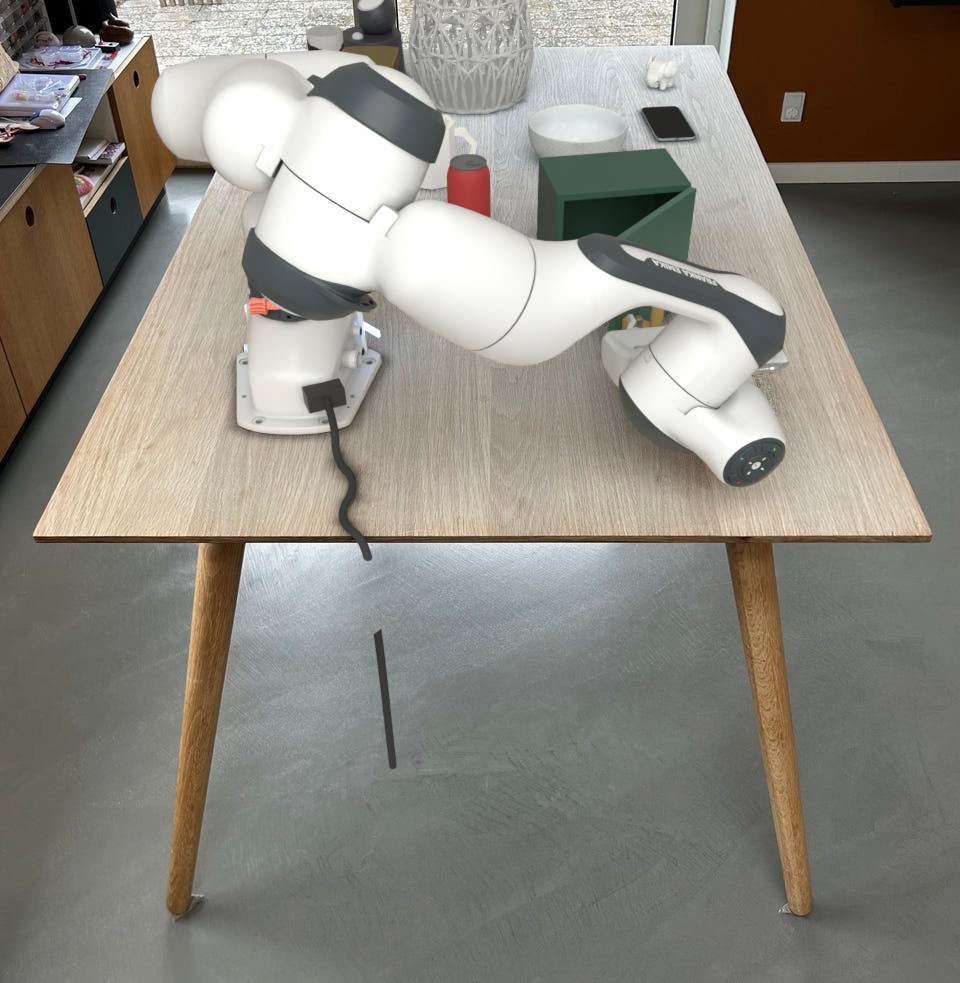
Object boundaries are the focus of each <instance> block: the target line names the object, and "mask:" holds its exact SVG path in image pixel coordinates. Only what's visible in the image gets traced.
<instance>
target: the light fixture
mask: <svg viewBox="0 0 960 983" xmlns="http://www.w3.org/2000/svg"><path fill="white" fill-rule="evenodd" d="M355 18H356V22H357V23H358V25H355V26H350V27H348V28H346V29H344V30H343V41H344V47H352V46H390V47H399V61H400V63H399V69H398V71H399V72H402V73H403V74H405V75H407V74H406V64H405V57H404V46H403V40H402V39H403V38H402V32H401V29H399V28H397V27H394V26H395V24H396V20H397V10H396V6H395V4H394V2H393V1H392V0H359V1H358V3H357V4H356V8H355Z"/></svg>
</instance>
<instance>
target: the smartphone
mask: <svg viewBox="0 0 960 983" xmlns="http://www.w3.org/2000/svg"><path fill="white" fill-rule="evenodd" d="M640 112H641V114H642V116H643V118H644V120H645V122H646V123H647V125H648V127H649V129H650V131H651V133H652V134H653V136H654V138H655V140H656V141H658V142H674V141H692V140H694V139H695V138H696V134H695V132H694V130H693V129H692V127H691V125H690V124H689V122H688V121H687V119H686V117H685V116H684V114H683V113H682V111H681V109H680V108H679V106H676V105H666V106H665V105H664V106H663V105H662V106H645V107H642V108H641V111H640Z"/></svg>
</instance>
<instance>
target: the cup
mask: <svg viewBox="0 0 960 983" xmlns="http://www.w3.org/2000/svg"><path fill="white" fill-rule="evenodd" d="M343 31H344V30H343V28H342V27H340V26H336V25H317V26H313V27H310V28H308V29H306V31H305V36H306V45H307V51H313V50H333V51H340V52H341V51H342V50H343V48H344V41H343Z"/></svg>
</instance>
